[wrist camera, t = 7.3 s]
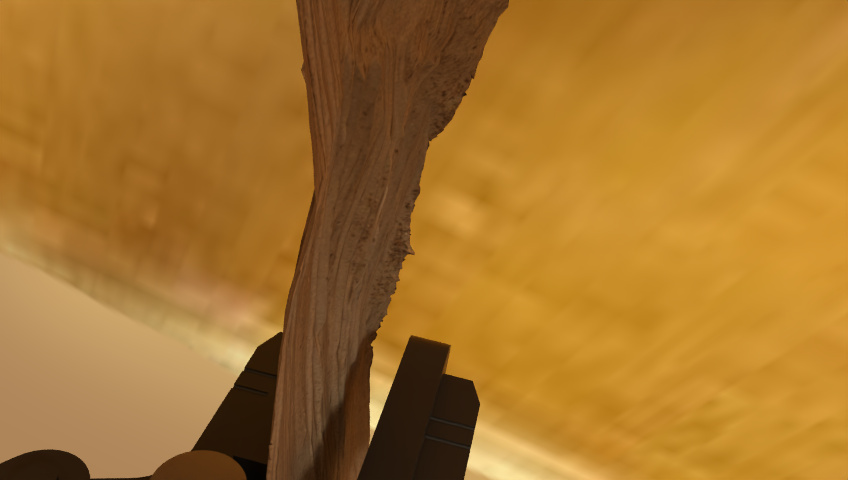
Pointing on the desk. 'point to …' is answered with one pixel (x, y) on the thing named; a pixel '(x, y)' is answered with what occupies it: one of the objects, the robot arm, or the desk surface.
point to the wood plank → (361, 206)
